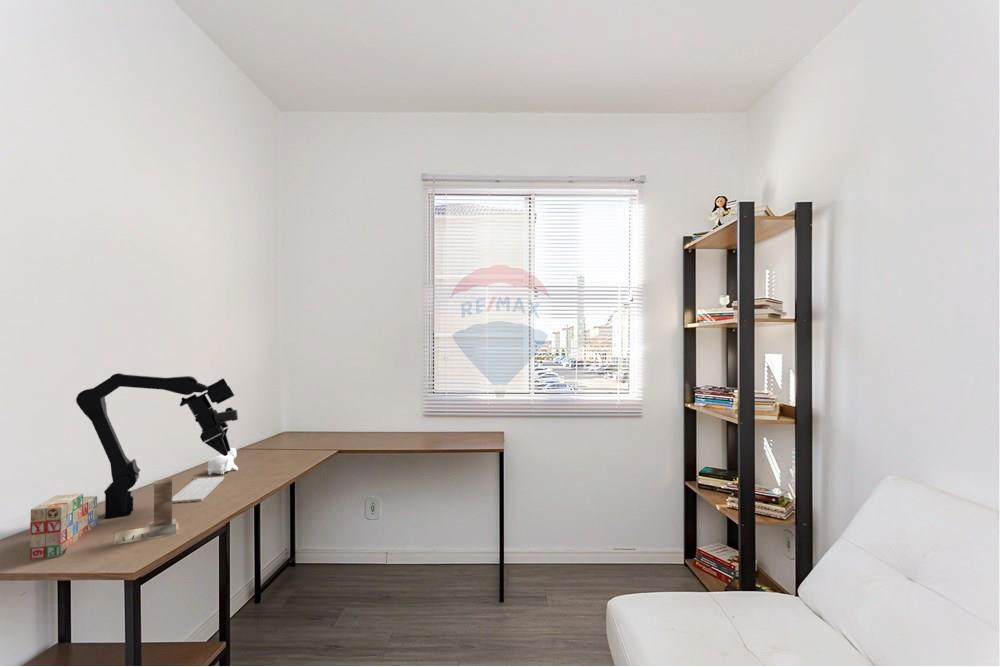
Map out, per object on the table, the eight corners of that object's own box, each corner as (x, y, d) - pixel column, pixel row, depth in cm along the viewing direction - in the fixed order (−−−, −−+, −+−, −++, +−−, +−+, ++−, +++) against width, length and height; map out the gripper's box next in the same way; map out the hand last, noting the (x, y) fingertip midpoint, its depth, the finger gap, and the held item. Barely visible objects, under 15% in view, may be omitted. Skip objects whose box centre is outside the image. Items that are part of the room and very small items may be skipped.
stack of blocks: (71, 531, 148) (71, 486, 149) (98, 528, 150) (98, 484, 151) (29, 560, 128) (29, 508, 128) (60, 557, 130) (61, 506, 130)
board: (113, 549, 134) (113, 544, 134) (115, 536, 143) (115, 532, 143) (179, 538, 142) (179, 533, 142) (177, 526, 151) (177, 522, 151)
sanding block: (149, 537, 139) (149, 485, 139) (149, 532, 143) (149, 481, 144) (176, 533, 142) (176, 481, 143) (175, 527, 147) (175, 477, 147)
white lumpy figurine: (228, 482, 213) (244, 460, 227) (224, 463, 210) (241, 443, 224) (206, 482, 213) (224, 460, 227) (202, 464, 210) (220, 443, 224)
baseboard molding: (160, 506, 173) (201, 503, 176) (160, 497, 173) (201, 494, 176) (189, 482, 203) (224, 480, 206) (189, 475, 203) (224, 473, 206)
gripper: (225, 400, 168) (250, 444, 170) (230, 397, 185) (253, 436, 187) (188, 419, 164) (215, 463, 166) (197, 414, 181) (221, 453, 183)
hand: (227, 453), depth 176 cm, fingers open, 9 cm apart
